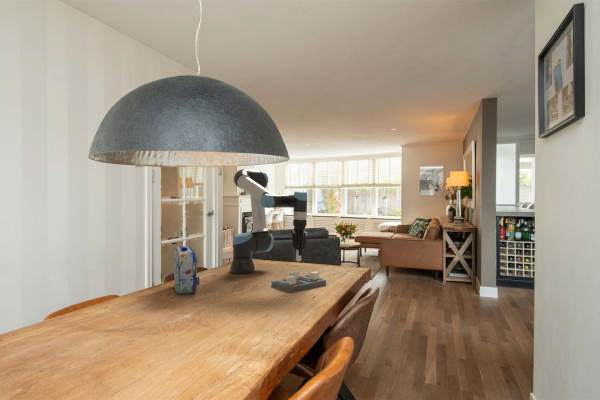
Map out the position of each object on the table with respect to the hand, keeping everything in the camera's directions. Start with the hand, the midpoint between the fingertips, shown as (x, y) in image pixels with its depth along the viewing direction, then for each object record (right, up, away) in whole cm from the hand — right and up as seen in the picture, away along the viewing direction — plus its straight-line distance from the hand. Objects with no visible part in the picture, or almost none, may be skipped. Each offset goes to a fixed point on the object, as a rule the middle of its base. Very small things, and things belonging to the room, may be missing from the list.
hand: (298, 260), depth 196 cm
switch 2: (+8, -8, -11) cm, 16 cm away
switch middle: (-2, -8, -11) cm, 13 cm away
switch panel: (0, -10, -14) cm, 17 cm away
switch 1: (-4, -8, -22) cm, 23 cm away
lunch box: (-56, -10, -24) cm, 62 cm away
